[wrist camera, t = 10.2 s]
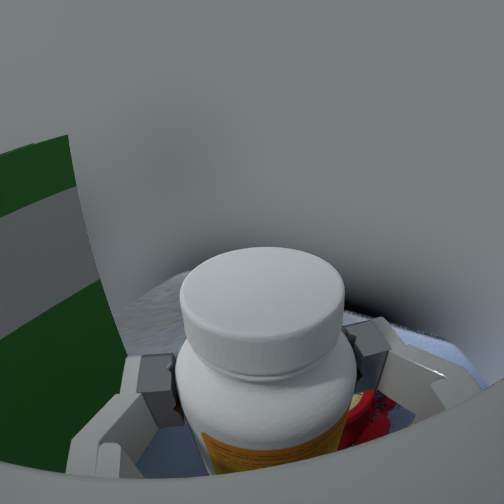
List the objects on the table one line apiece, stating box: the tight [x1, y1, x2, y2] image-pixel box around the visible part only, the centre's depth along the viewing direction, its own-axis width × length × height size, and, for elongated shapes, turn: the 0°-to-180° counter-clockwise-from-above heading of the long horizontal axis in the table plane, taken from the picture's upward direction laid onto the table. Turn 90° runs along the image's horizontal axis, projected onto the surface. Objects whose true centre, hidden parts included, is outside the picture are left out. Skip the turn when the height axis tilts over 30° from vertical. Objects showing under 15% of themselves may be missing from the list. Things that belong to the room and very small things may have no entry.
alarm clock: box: [337, 389, 397, 451], centre depth 24 cm, size 10×6×15 cm
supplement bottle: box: [175, 247, 357, 475], centre depth 10 cm, size 5×5×10 cm
